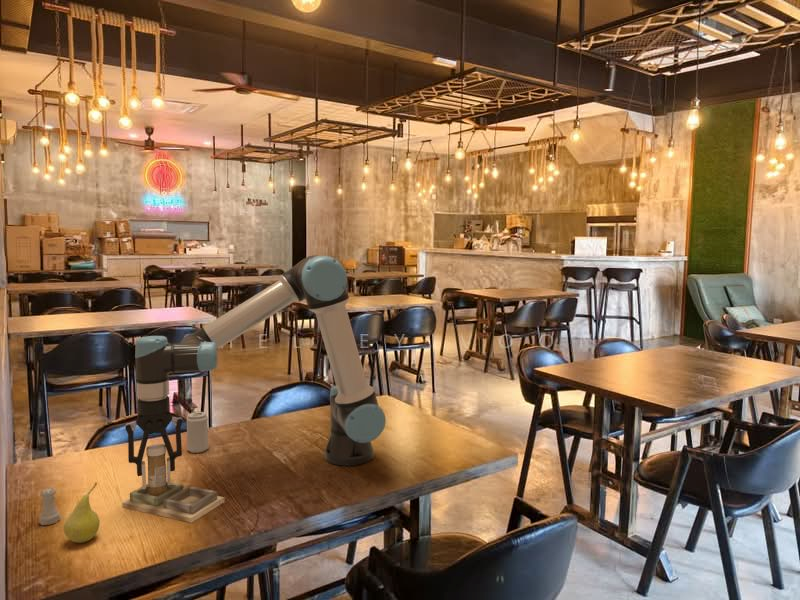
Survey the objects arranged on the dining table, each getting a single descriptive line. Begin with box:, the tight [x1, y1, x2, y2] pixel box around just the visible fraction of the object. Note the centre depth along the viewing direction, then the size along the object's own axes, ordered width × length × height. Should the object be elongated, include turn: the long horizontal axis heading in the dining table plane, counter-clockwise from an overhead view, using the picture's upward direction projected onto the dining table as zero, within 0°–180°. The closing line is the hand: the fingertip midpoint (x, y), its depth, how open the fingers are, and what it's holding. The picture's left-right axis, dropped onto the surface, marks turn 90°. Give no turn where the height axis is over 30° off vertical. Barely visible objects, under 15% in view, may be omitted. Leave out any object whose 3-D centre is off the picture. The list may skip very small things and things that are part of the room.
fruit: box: [63, 481, 100, 544], centre depth 126 cm, size 7×8×12 cm
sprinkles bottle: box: [145, 443, 167, 497], centre depth 145 cm, size 5×5×14 cm
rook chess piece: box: [38, 486, 61, 526], centre depth 134 cm, size 4×4×8 cm
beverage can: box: [186, 411, 209, 454], centre depth 181 cm, size 6×6×12 cm
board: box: [121, 481, 226, 524], centre depth 144 cm, size 22×12×3 cm, turn 69°
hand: (156, 485), depth 145 cm, fingers open, 5 cm apart
